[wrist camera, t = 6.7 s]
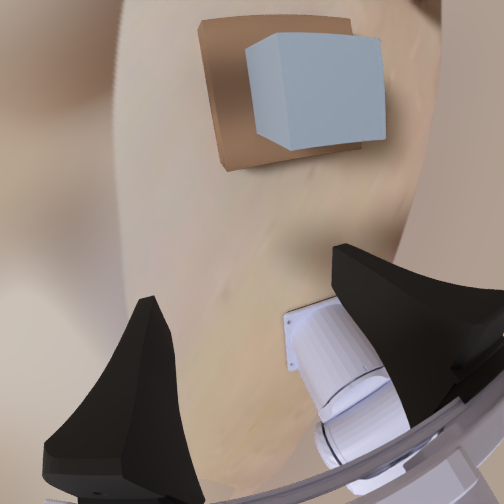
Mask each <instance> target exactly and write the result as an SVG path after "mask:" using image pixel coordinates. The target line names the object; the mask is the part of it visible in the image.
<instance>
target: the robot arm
mask: <svg viewBox="0 0 504 504" xmlns="http://www.w3.org/2000/svg"><path fill="white" fill-rule="evenodd" d="M331 286H332V288H333V290H334V292H335V293H336V295H337V296H336V297H333V298H330V299H328V300H325V301H322V302H319V303H316V304H313V305H310V306H307V307H303V308H300V309H297V310H294V311H291V312H288V313H286V314H285V315H284V316H283V320H284V332H285V343H286V355H287V368H288V370H289V371H295V370H298V372H299V374H300V376H301V378H302V380H303V382H304V384H305V386H306V388H307V390H308V392H309V394H310V396H311V398H312V400H313V402H314V405H315V406H316V408H317V409H318V410H319V411H318V414H319V416H320V418H321V420H322V421H320V422H319V423H317V425H316V430H315V434H314V437H315V443H316V446H317V448H318V451H319V453H320V455H321V457H322V459H323V460H324V462H325V464H326V465H327V466H328V468H329V469H330V470H329V471H326V472H324V473H321V474H319V475H316V476H313V477H311V478H308V479H305V480H302V481H299V482H296V483H293V484H290V485H287V486H284V487H281V488H277V489H274V490H270V491H267V492H263V493H259V494H255V495H251V496H247V497H242V498H238V499H233V500H228V501H223V502H217V503H212V504H298V503H301V502H304V501H307V500H310V499H313V498H315V497H318V496H320V495H323V494H326V493H329V492H331V491H333V490H336V489H338V488H340V487H343V486H345V485H346V486H347V488H348V489H349V490H351V491H352V492H353V494H355V495H363V496H361V497H359V498H357V499H355V500H353V501H350V502H348V503H346V504H499V503H498V501H497V499H496V497H495V496H494V494H493V492H492V490H491V489H490V487H489V485H488V484H487V482H486V480H485V479H484V477H483V476H482V474H481V472H480V471H479V469H478V467H479V466H480V465H481V464H482V463H483V461H485V460H486V459H487V458H488V456H489V455H490V454H491V453H492V452H493V451H494V450H495V449H496V448H497V447H498V446H499V444H500V443H501V442H502V441H503V440H504V336H503V333H504V290H494V289H480V288H473V287H466V286H460V285H455V284H451V283H447V282H442V281H439V280H435V279H432V278H429V277H426V276H423V275H420V274H417V273H414V272H412V271H409V270H407V269H404V268H401V267H399V266H397V265H394V264H392V263H390V262H387V261H385V260H383V259H381V258H379V257H376V256H374V255H372V254H370V253H368V252H365V251H363V250H361V249H359V248H357V247H354V246H352V245H349V244H346V243H345V244H341V245H338V246H334V247H333V256H332V285H331ZM43 453H44V454H43V471H42V476H43V479H44V480H45V481H46V482H47V483H49V484H50V485H52V486H54V487H56V488H58V489H60V490H62V491H64V492H66V493H69V494H71V495H74V496H76V497H78V504H204V502H205V498H204V495H203V492H202V490H201V487H200V485H199V482H198V479H197V476H196V473H195V470H194V467H193V463H192V460H191V457H190V453H189V450H188V446H187V442H186V438H185V434H184V430H183V426H182V421H181V417H180V411H179V404H178V394H177V380H176V366H175V353H174V347H173V342H172V336H171V332H170V329H169V327H168V325H167V323H166V321H165V319H164V317H163V314H162V312H161V310H160V308H159V305H158V303H157V301H156V299H155V296H150V297H146V298H142V299H139V301H138V303H137V305H136V307H135V309H134V311H133V314H132V316H131V318H130V320H129V322H128V325H127V327H126V329H125V331H124V333H123V335H122V337H121V340H120V342H119V344H118V346H117V348H116V350H115V351H114V353H113V355H112V357H111V359H110V361H109V363H108V365H107V366H106V368H105V370H104V371H103V373H102V375H101V376H100V378H99V379H98V381H97V382H96V384H95V385H94V387H93V388H92V390H91V391H90V392H89V394H88V395H87V396H86V398H85V399H84V400H83V402H82V403H81V405H80V406H79V407H78V408H77V409H76V410H75V412H74V413H73V414H72V415H71V416H70V417H69V419H68V420H67V421H66V422H65V423H64V424H63V425H62V426H61V427H60V428H59V429H58V430H57V431H56V432H55V433H54V434H53V435H52V436H51V437H50V438H49V439H48V440H47V441H46V442H45V443H44V452H43ZM45 504H75V503H71V502H64V501H57V500H50V499H46V500H45Z"/></svg>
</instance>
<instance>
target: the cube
mask: <svg viewBox="0 0 504 504" xmlns="http://www.w3.org/2000/svg"><path fill="white" fill-rule="evenodd" d="M245 54H246V60H247V67H248V74H249V81H250V88H251V95H252V102H253V109H254V116H255V124H256V131H257V134H259V135H261V136H263V137H265V138H267V139H269V140H271V141H273V142H275V143H277V144H279V145H281V146H283V147H285V148H287V149H288V150H290V151H292V150H299V149H305V148H312V147H319V146H327V145H335V144H343V143H352V142H362V141H372V140H384V139H386V111H385V88H384V74H383V62H382V52H381V43H380V39H376V38H369V37H361V36H352V35H342V34H328V33H301V32H285V33H275V34H273V35H271V36H269V37H267V38H265V39H263V40H261V41H259V42H257V43H255V44H253V45H252V46H250V47H248V48H246V49H245Z"/></svg>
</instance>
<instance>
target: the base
mask: <svg viewBox="0 0 504 504" xmlns="http://www.w3.org/2000/svg"><path fill="white" fill-rule="evenodd" d="M285 32H301V33H328V34H342V35H352V28H351V22H350V19H347V18H339V17H328V16H314V15H251V16H237V17H226V18H217V19H209V20H202V21H201V23H200V26H199V28H198V36H199V42H200V48H201V54H202V60H203V66H204V72H205V78H206V84H207V90H208V95H209V101H210V107H211V113H212V118H213V124H214V130H215V135H216V141H217V146H218V152H219V157H220V163H221V164H222V165H223V167H224V168H225V169H226V171H227V172H230V171H234V170H239V169H244V168H248V167H253V166H258V165H263V164H268V163H274V162H279V161H285V160H290V159H296V158H302V157H308V156H314V155H321V154H327V153H334V152H341V151H349V150H357V149H361V142H352V143H343V144H335V145H327V146H319V147H312V148H305V149H299V150H292V151H290V150H288V149H287V148H285V147H283V146H281V145H279V144H277V143H275V142H273V141H271V140H269V139H267V138H265V137H263V136H261V135H259V134H257V131H256V124H255V116H254V109H253V102H252V95H251V88H250V81H249V74H248V67H247V60H246V54H245V49H246V48H248V47H250V46H252V45H253V44H255V43H257V42H259V41H261V40H263V39H265V38H267V37H269V36H271V35H273V34H275V33H285ZM352 36H353V35H352Z"/></svg>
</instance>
